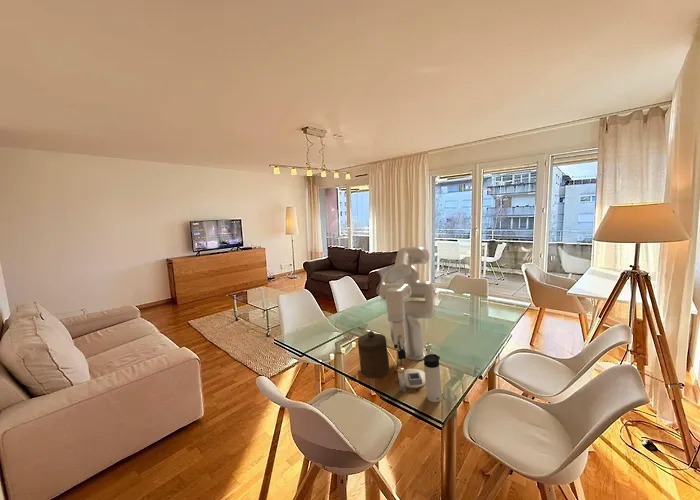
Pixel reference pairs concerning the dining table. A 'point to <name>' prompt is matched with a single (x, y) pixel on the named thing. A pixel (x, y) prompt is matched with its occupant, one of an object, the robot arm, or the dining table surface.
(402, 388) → the peg
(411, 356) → the robot arm
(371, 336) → the wooden container
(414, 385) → the dial
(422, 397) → the dining table surface
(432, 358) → the travel mug
